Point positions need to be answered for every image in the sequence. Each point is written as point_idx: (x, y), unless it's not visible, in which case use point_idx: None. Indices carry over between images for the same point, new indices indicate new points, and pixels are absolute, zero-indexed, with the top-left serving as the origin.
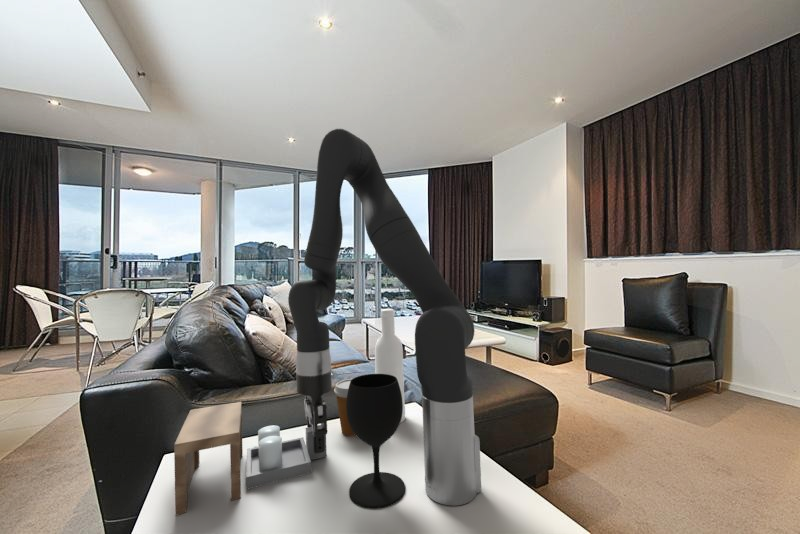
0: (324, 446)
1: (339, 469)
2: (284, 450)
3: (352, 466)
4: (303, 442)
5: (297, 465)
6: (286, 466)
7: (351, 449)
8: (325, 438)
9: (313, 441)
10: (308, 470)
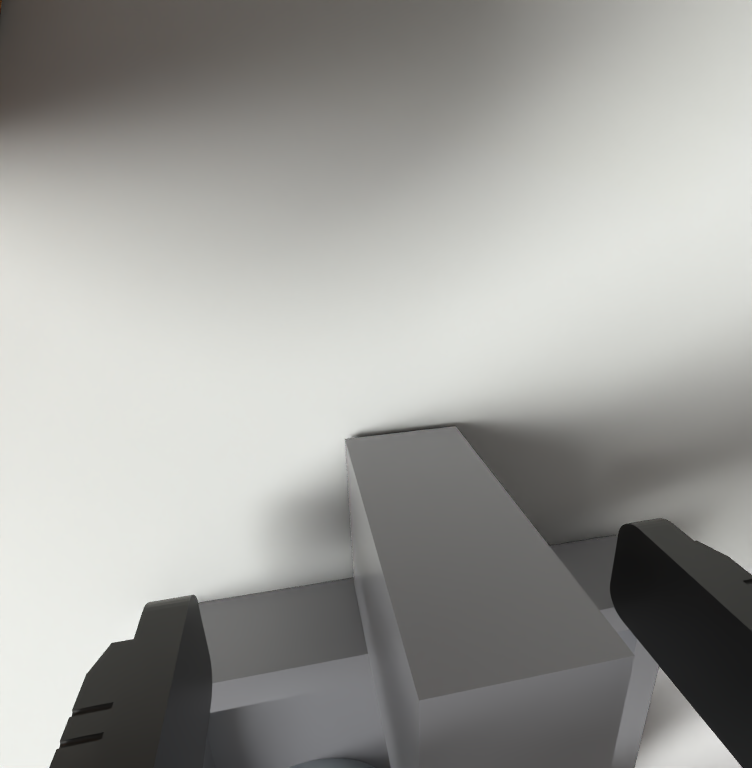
0: (699, 547)
1: (698, 339)
2: (231, 751)
3: (727, 219)
4: (270, 682)
5: (655, 675)
6: (625, 735)
7: (414, 139)
8: (541, 543)
9: (704, 710)
10: None
